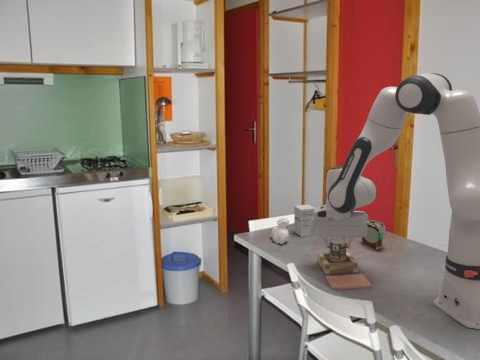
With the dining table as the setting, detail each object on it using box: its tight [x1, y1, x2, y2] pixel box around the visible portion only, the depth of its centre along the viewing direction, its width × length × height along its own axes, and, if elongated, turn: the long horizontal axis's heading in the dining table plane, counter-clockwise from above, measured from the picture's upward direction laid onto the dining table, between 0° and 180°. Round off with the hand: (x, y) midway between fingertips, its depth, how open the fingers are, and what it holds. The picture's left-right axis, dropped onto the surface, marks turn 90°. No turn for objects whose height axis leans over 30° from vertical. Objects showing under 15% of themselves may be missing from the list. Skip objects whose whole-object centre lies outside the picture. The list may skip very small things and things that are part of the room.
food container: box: [361, 219, 386, 252], centre depth 191 cm, size 12×6×10 cm, turn 22°
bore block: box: [317, 251, 359, 275], centre depth 172 cm, size 12×12×4 cm
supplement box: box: [293, 204, 315, 238], centre depth 209 cm, size 7×7×13 cm
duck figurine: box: [270, 217, 290, 245], centre depth 201 cm, size 12×8×11 cm
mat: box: [325, 273, 373, 290], centre depth 158 cm, size 9×13×1 cm
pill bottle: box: [329, 235, 347, 262], centre depth 171 cm, size 6×6×10 cm
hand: (338, 247), depth 171 cm, fingers closed on pill bottle, 6 cm apart
